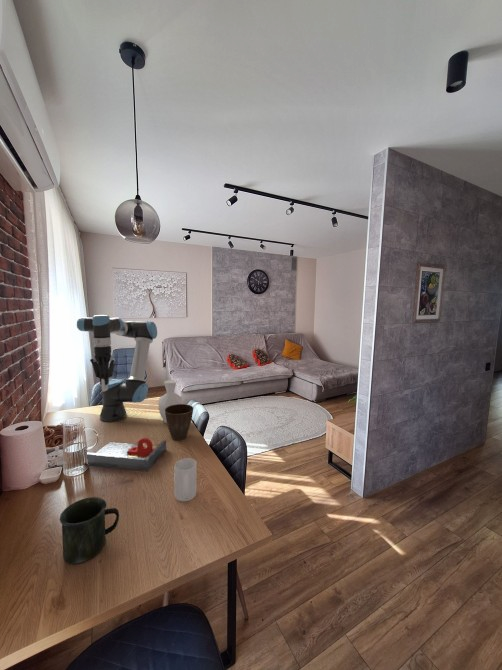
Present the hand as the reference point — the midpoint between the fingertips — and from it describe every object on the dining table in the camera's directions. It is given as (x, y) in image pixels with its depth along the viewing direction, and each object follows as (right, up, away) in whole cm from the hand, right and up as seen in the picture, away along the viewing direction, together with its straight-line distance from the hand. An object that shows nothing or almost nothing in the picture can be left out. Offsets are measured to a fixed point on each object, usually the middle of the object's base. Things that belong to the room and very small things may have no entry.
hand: (104, 390), depth 139 cm
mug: (+29, -33, -61) cm, 75 cm away
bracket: (+24, -27, -12) cm, 38 cm away
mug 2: (+51, -32, -40) cm, 72 cm away
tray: (+18, -28, -13) cm, 36 cm away
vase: (+25, -25, +29) cm, 46 cm away
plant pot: (+37, -27, +7) cm, 46 cm away
